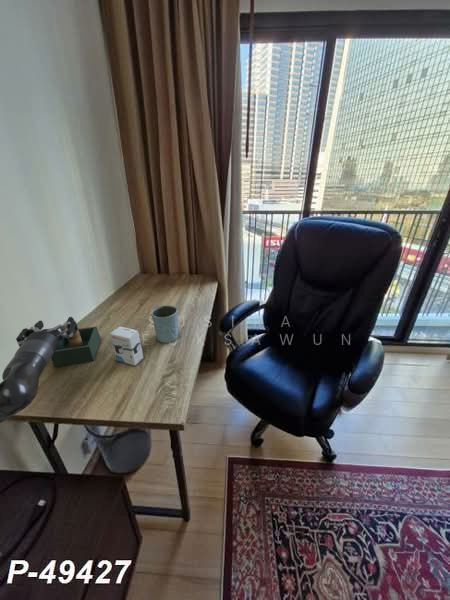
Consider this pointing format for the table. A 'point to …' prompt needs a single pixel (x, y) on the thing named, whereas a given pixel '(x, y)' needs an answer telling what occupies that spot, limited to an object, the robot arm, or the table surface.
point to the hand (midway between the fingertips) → (56, 321)
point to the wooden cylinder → (75, 340)
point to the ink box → (127, 345)
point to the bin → (77, 348)
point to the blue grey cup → (165, 323)
